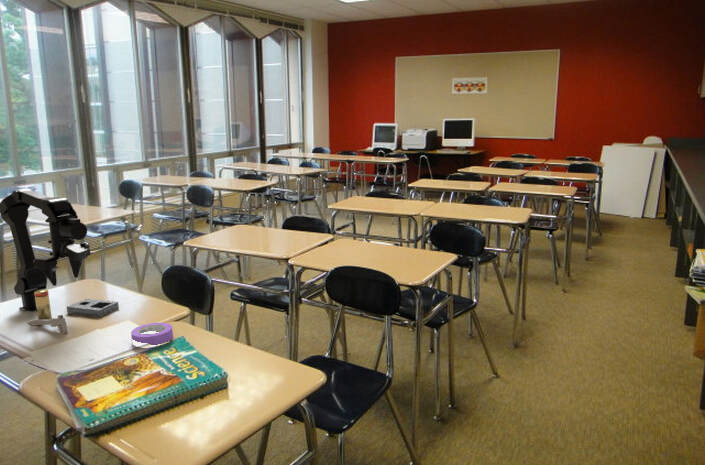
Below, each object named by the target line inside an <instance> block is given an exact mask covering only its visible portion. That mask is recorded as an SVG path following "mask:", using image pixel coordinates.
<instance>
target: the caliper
mask: <svg viewBox="0 0 705 465" xmlns="http://www.w3.org/2000/svg"><path fill="white" fill-rule="evenodd" d="M56 316H57V317H54V318H52V319H50V320H38V319H31V320H29V321H28V322H27V324H30V325H33V326H38V325H41V326H44V325H45V326H47V325H48V326H51V327H52V328H56V327H57V328H58V331H59V333H60V334H63V335H65V334H67V333H68V326H67V322H66V318H64V315H63V314H59V315H56Z"/></svg>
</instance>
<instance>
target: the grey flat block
mask: <svg viewBox="0 0 705 465" xmlns="http://www.w3.org/2000/svg"><path fill="white" fill-rule="evenodd" d="M119 308H120V306H119V301H114V300H103V299H97V298H96V299H95V298H94V299H93V298H84V299H82V300H80V301H77V302H75V303H72V304H70V305H67V306H66V312H67V314H69V315H77V316H86V317H92V318H95V317H96V318H102V317H104V316H106V315H108V314H110V313H113V312H114V311H116V310H119Z"/></svg>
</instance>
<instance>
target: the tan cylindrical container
mask: <svg viewBox="0 0 705 465" xmlns="http://www.w3.org/2000/svg"><path fill="white" fill-rule="evenodd" d="M34 295H35V301H36V308H37V310H36V314H37V320H50V319H52V316H53V315H52V309H51V304H50V302H51V301H50V295H49V289H47V288H46V289H42V290H37V291H35V292H34Z"/></svg>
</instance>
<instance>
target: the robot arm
mask: <svg viewBox="0 0 705 465" xmlns="http://www.w3.org/2000/svg"><path fill="white" fill-rule="evenodd" d="M31 206H32V207H34V208H36V209H40V210H41V214H43V215H44V216H45V217H47V218H46V219H45V221H44V222H45V223H48V226H49V235H50V239H48V240H47V243H48V244H51V251H49V256H47V255H45V256H44V255H43V256H39V257H37V258H36V256H35V253H34V250H33V249H34V248H33V245H32V242H31V241H32V240H31V237H30V233H29V230H28V226H27V220H28V217H29V216H30V215H29V214H30V213H29V208H30V207H31ZM77 214H78V213H77V211H76V210H75V209H74V207H73V206H72V203H71V202H70V201H69V199H68V198H67V197H58V196H57V197H54V196H53V197H51V196H48V195H45V194H42V193H39V192H36V191H34V190H32V189H31V188H21V189H19V188H18V189H15V190H13V191H12V192H11V194H9V195H8V196H6V197H4V198H2V199H1V201H0V217H1V218H2V219H1V220H3V221H4V222H5V224H7V225H8V226H9V228H10V231H11V235H12V240H13V243H14V245H15V247H14V248H15V250H16V254H17V257H18V262H19V265H20V266H19V269H18V272H17V279H18V280H17V281H16V284H15V285H14V288H13V290H14V293H15V294H16V295H20V296H21V302H22V306H20V307H18V308H19V309H18V310H20V309H25V310H24V311H28V310H30V312H33V311H37V308H36V301H35V295H34V292H35V291H37V290H42V289H47V285H48V284H47V283H48V280H49V282H50V283H51V285H52V286H55V287H56V286H57V283H58V282H57V270H58V268H59V266H57V265H58V262H60V261H63V260H66V259H68V261H69V264H70V265H69V266H70V268H71V272H72V275H73V276H74V278H75V279H76V278H77V279H78V278H79V275H80V270H81V268H82V264H83V262H84V261H85V260H86V259H88V257H89V256H90V255H91V248H90V244H89V243H88V242H86V241H85V242H82V243H79V244H77V243H76V241H81V240H83V239H85V238H86V236H87V234H88V227H87V226H86V225H85V223H83V222H81V219H80V218H79V216H78V215H77ZM75 240H76V241H75Z"/></svg>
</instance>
